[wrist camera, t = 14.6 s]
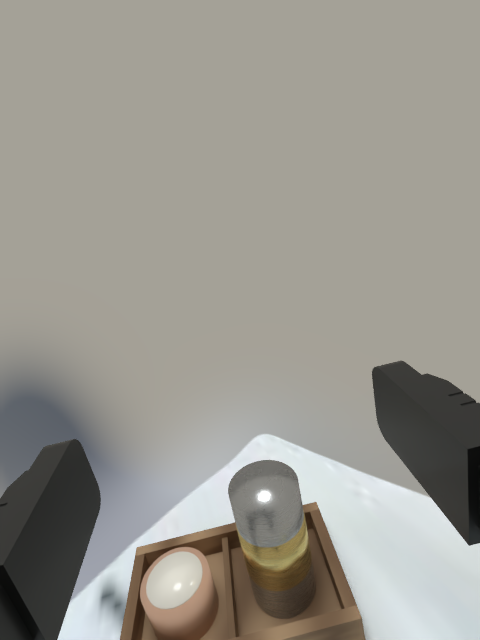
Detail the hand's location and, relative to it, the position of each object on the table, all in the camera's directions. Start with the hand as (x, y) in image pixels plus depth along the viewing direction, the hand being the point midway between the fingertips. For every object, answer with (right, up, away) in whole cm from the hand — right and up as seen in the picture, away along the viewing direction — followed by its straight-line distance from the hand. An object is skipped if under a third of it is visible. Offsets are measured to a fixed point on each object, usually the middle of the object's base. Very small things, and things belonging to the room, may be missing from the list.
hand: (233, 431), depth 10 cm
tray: (0, -24, +25) cm, 35 cm away
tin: (+4, -22, +25) cm, 34 cm away
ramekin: (-5, -24, +25) cm, 35 cm away
